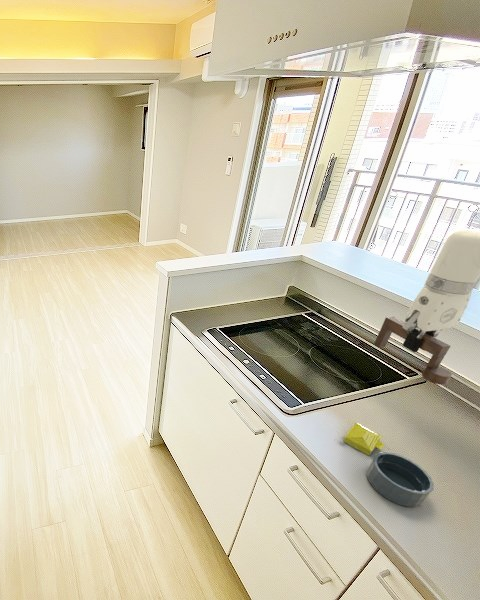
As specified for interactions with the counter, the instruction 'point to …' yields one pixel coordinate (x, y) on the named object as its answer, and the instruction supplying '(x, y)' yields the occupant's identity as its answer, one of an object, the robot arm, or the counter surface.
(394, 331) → the brown drawer pull
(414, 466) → the bowl
